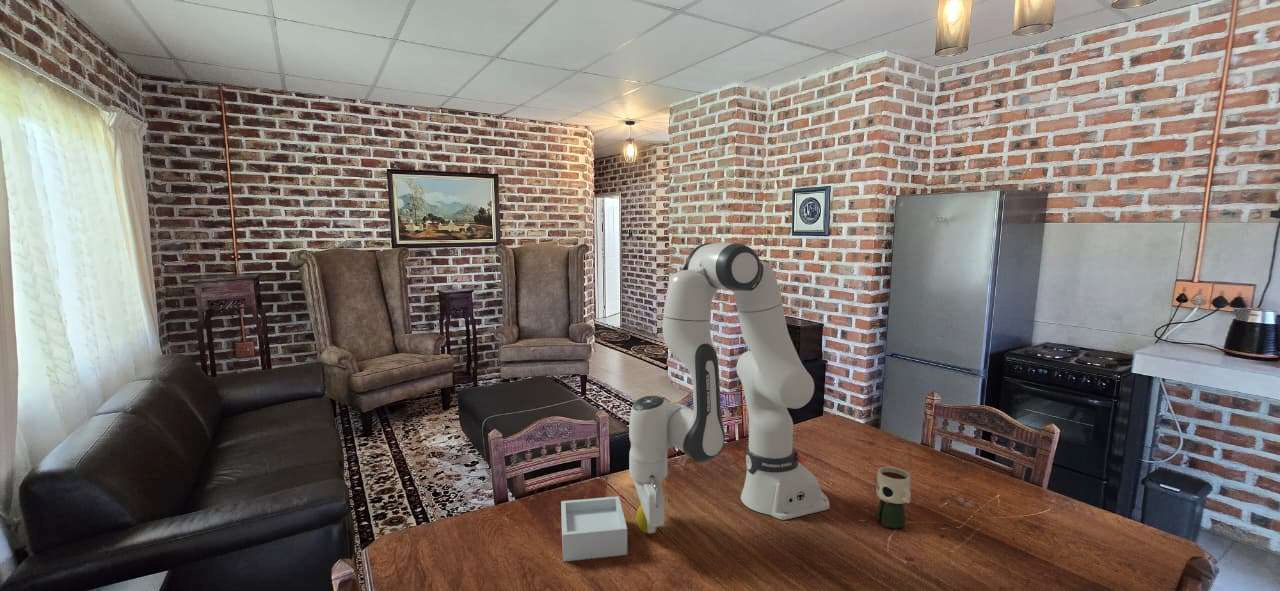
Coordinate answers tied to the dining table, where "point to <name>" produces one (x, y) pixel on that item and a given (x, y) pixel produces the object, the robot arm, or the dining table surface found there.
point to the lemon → (642, 520)
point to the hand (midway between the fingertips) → (648, 522)
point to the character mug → (892, 495)
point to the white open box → (593, 528)
